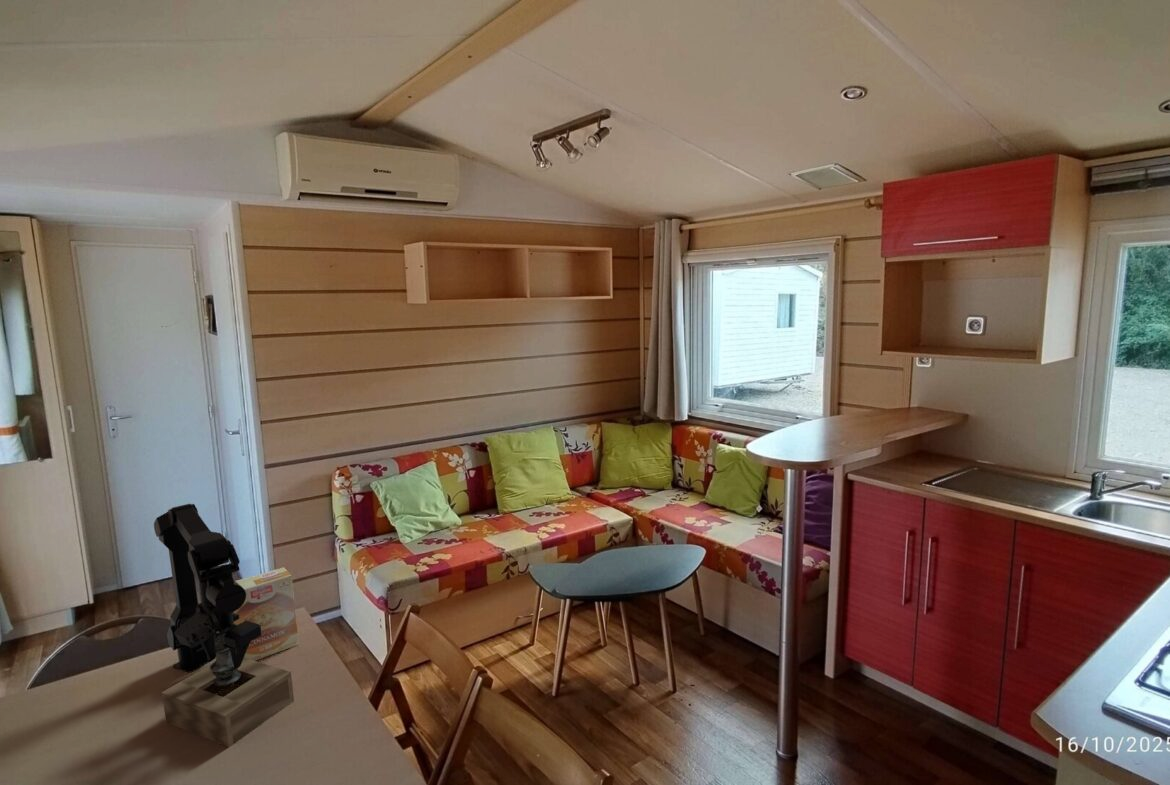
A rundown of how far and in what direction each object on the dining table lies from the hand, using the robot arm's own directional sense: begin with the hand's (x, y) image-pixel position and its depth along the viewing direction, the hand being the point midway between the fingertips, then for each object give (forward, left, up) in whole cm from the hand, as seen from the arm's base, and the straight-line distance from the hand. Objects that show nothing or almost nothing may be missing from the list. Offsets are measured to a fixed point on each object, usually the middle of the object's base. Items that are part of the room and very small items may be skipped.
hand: (225, 663), depth 139 cm
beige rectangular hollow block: (0, 0, -11) cm, 11 cm away
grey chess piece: (0, 0, -4) cm, 4 cm away
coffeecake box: (-14, +20, -12) cm, 27 cm away
